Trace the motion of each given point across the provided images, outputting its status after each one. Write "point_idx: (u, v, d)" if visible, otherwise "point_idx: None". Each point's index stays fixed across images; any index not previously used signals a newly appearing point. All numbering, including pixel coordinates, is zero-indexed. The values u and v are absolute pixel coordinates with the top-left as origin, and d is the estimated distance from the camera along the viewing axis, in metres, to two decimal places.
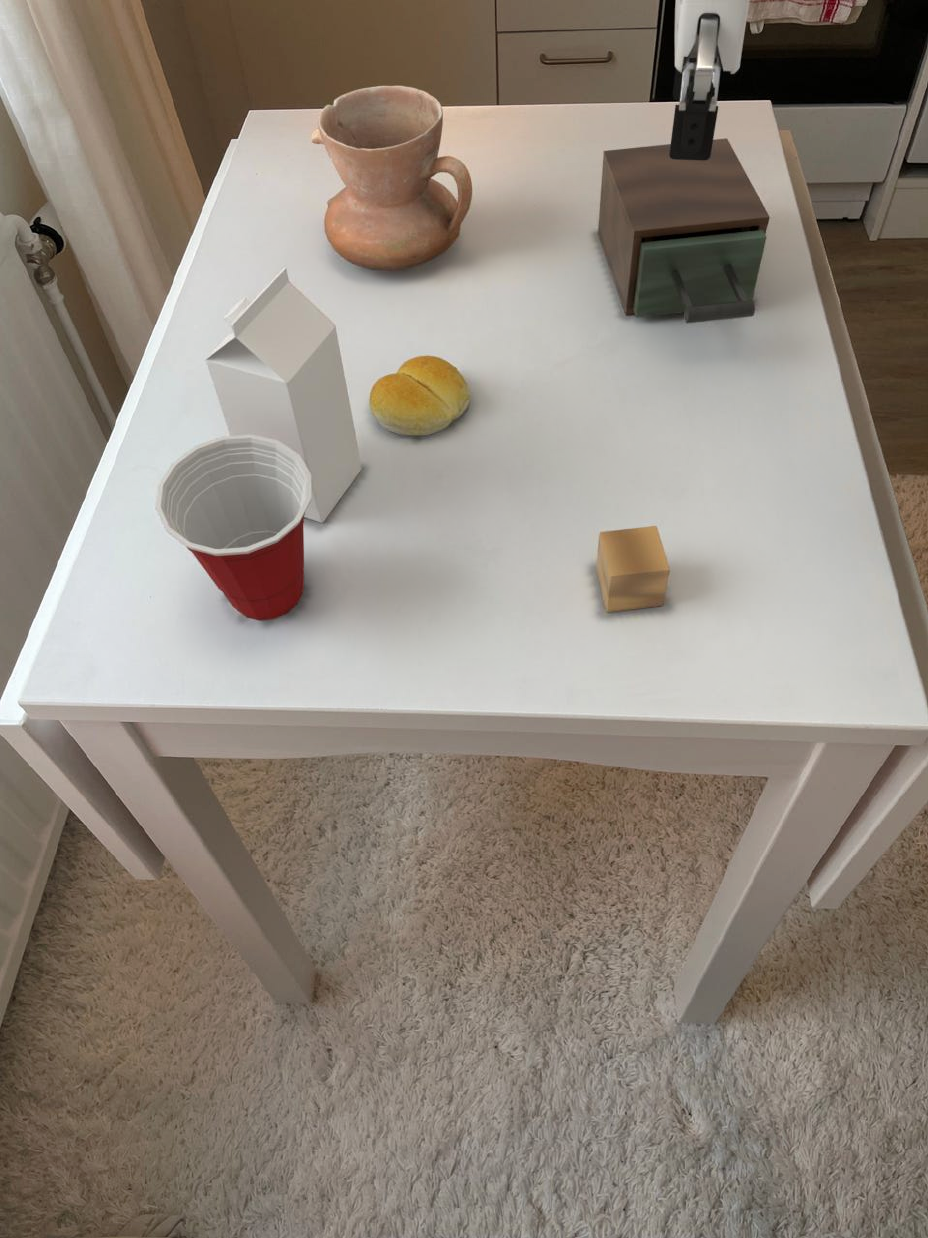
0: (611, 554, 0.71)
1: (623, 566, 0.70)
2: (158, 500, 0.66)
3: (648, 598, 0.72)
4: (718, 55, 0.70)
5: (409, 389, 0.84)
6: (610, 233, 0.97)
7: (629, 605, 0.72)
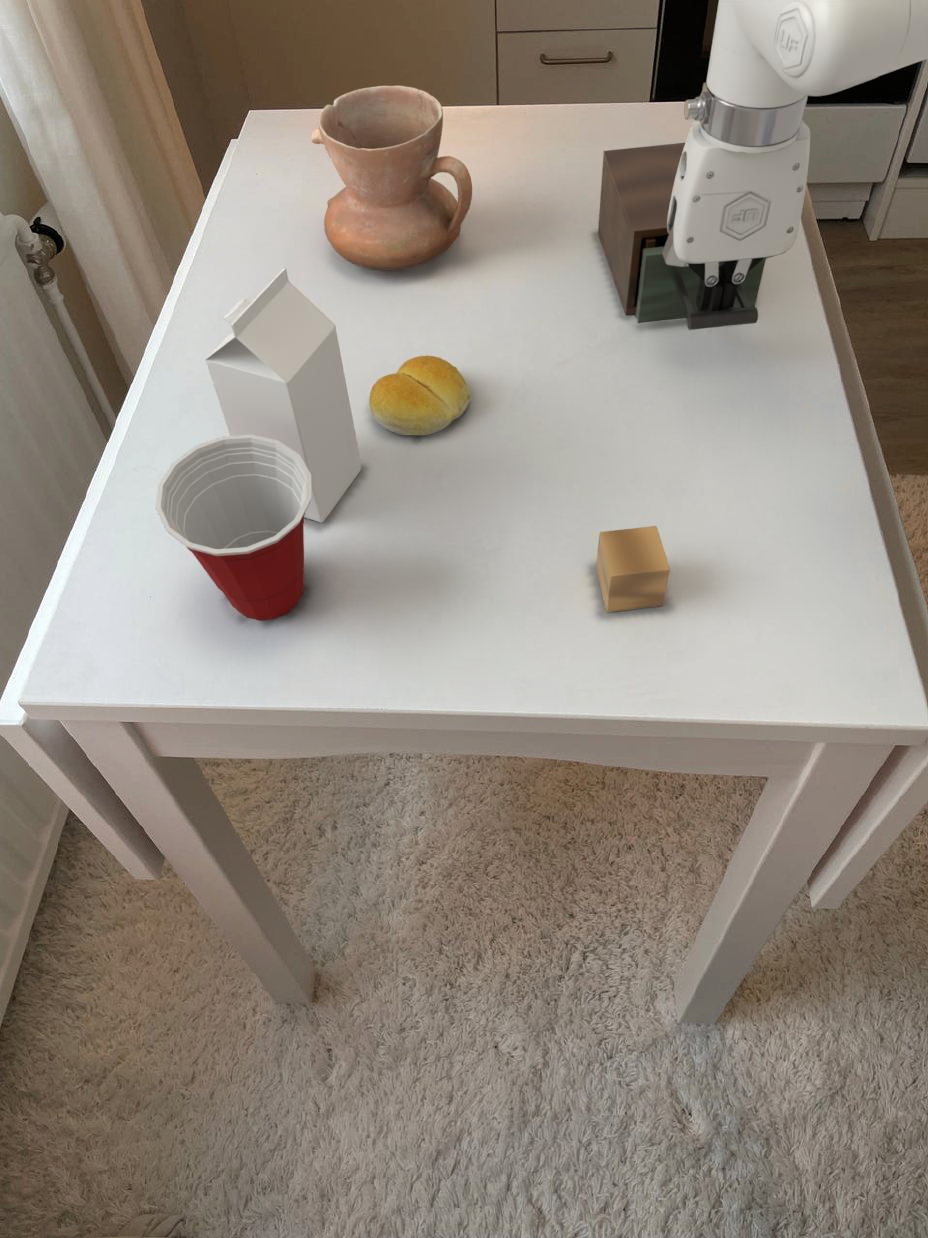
0: (611, 554, 0.71)
1: (623, 566, 0.70)
2: (158, 500, 0.66)
3: (648, 598, 0.72)
4: None
5: (409, 389, 0.84)
6: (610, 233, 0.97)
7: (629, 605, 0.72)
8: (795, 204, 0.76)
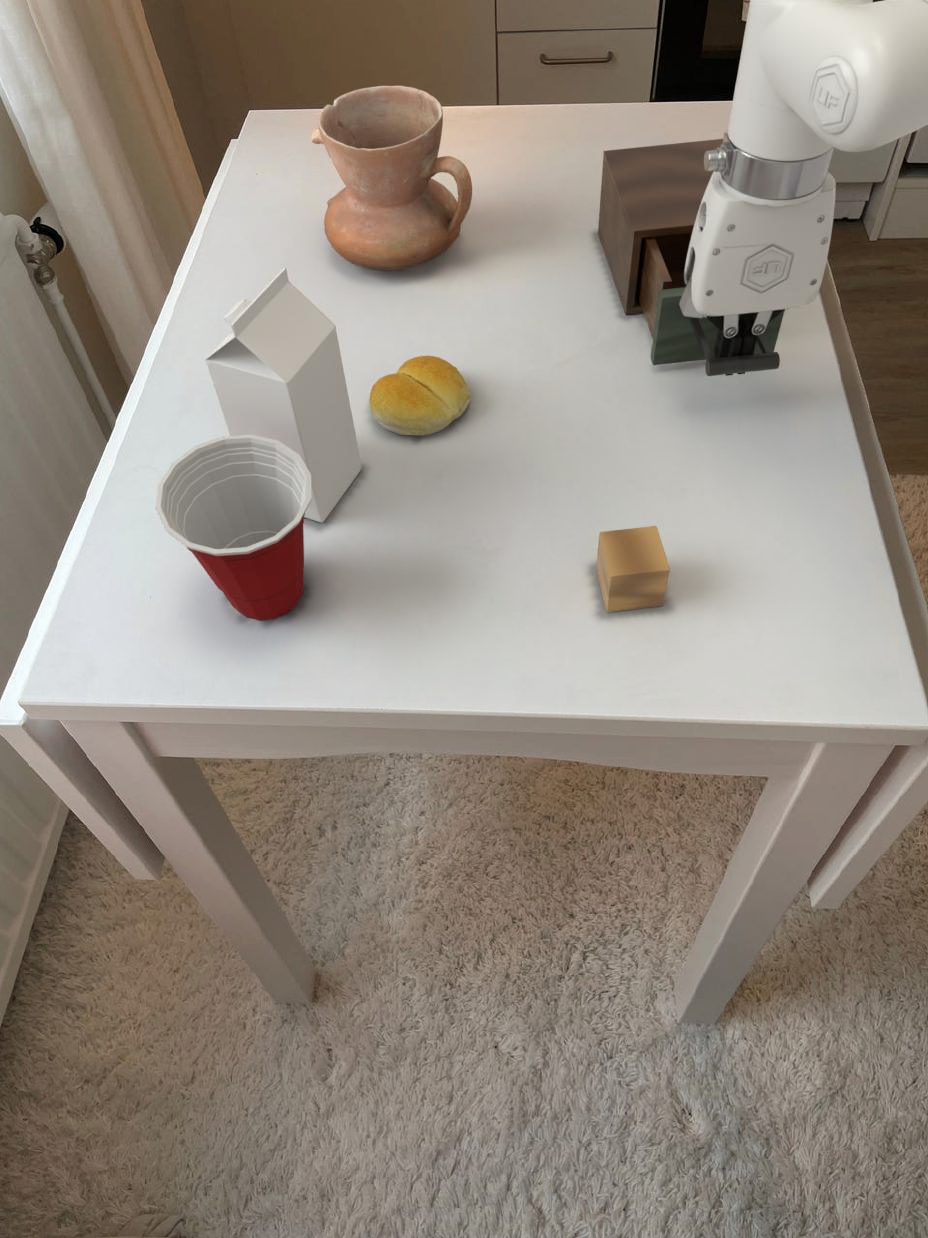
0: (611, 554, 0.71)
1: (623, 566, 0.70)
2: (158, 500, 0.66)
3: (648, 598, 0.72)
4: None
5: (409, 389, 0.84)
6: (610, 233, 0.97)
7: (629, 605, 0.72)
8: (819, 256, 0.73)
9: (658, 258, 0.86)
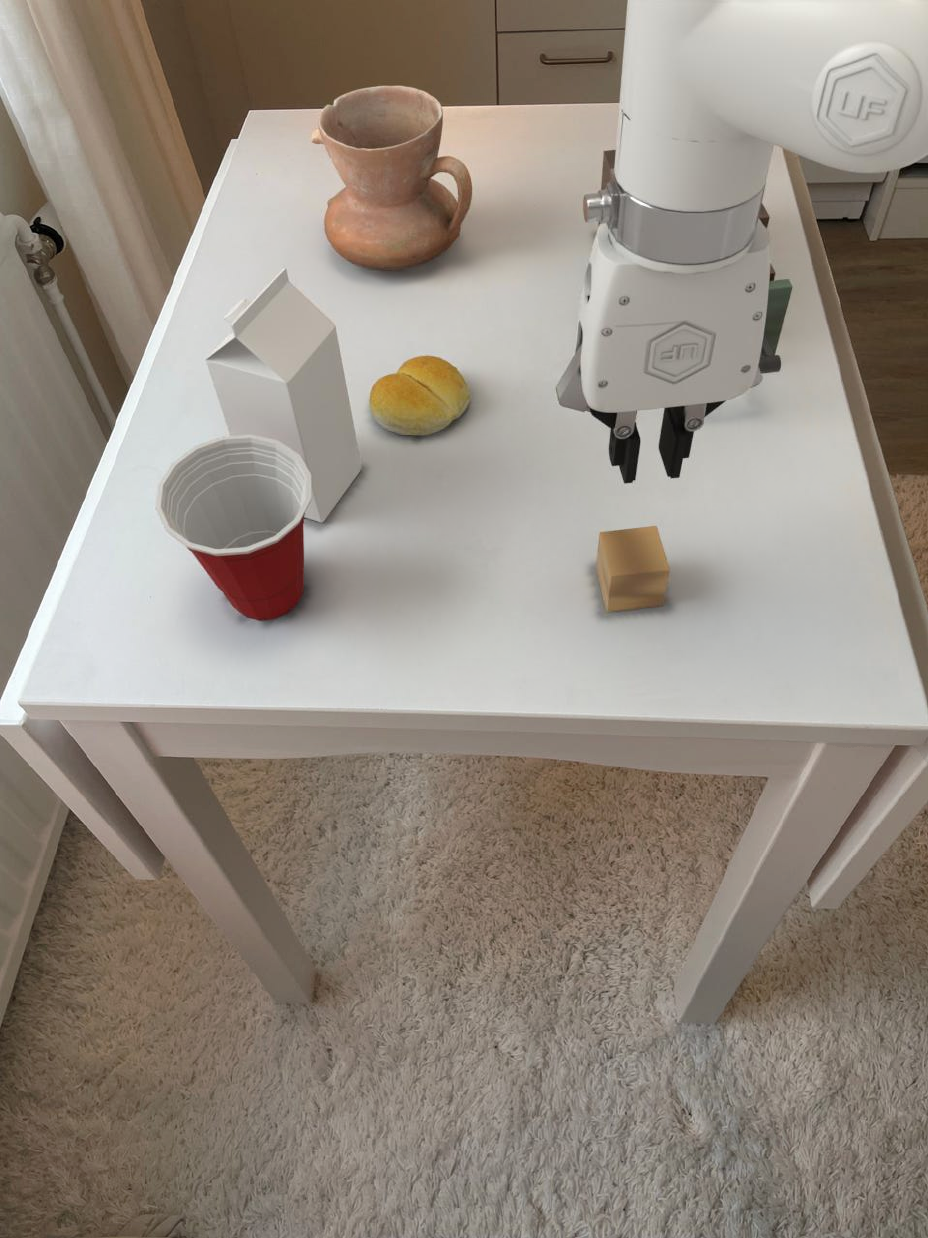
0: (611, 554, 0.71)
1: (623, 566, 0.70)
2: (158, 500, 0.66)
3: (648, 598, 0.72)
4: None
5: (409, 389, 0.84)
6: None
7: (629, 605, 0.72)
8: (752, 336, 0.53)
9: None
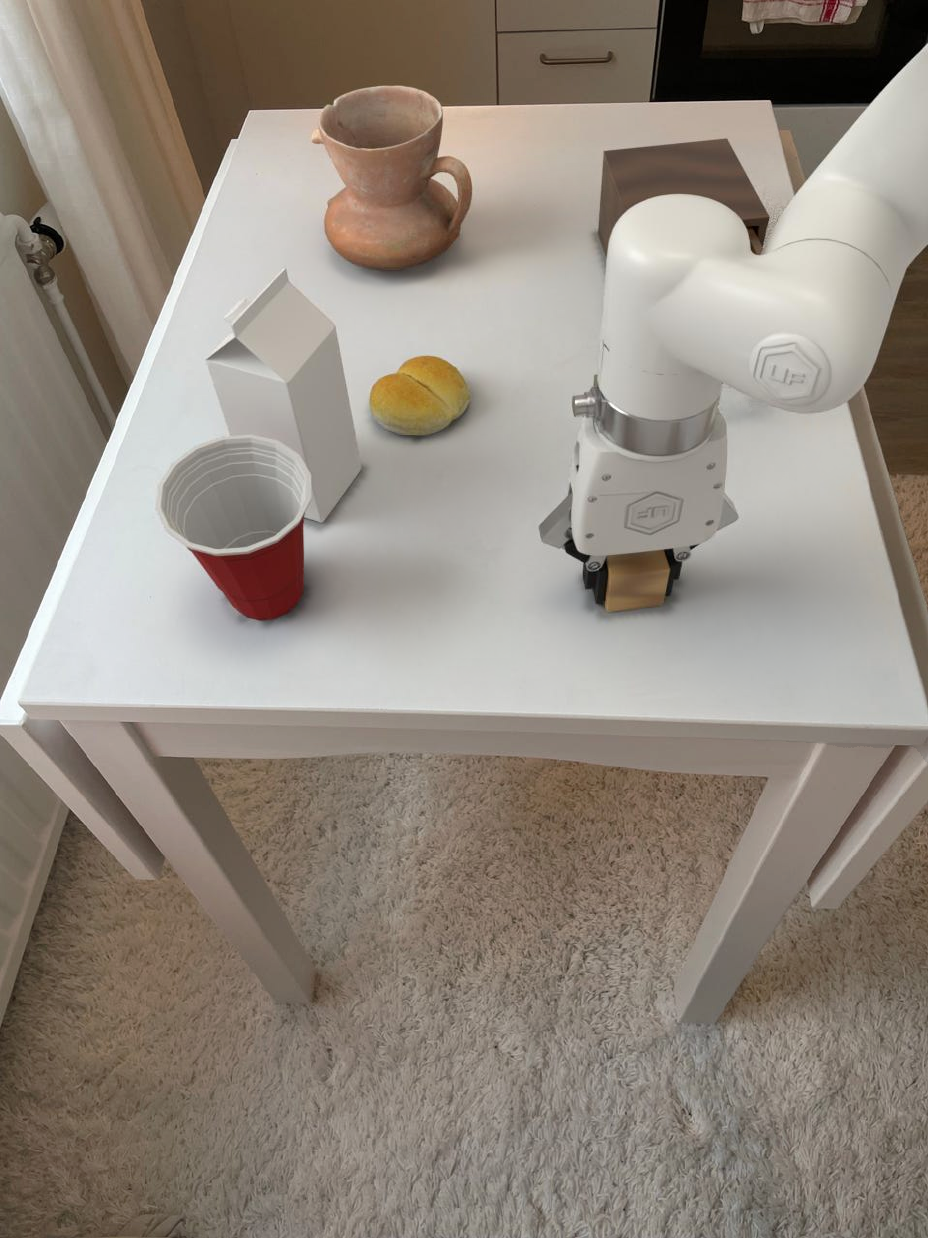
0: None
1: (623, 566, 0.70)
2: (158, 500, 0.66)
3: (648, 598, 0.72)
4: None
5: (409, 389, 0.84)
6: (610, 233, 0.97)
7: (629, 605, 0.72)
8: (713, 499, 0.63)
9: None
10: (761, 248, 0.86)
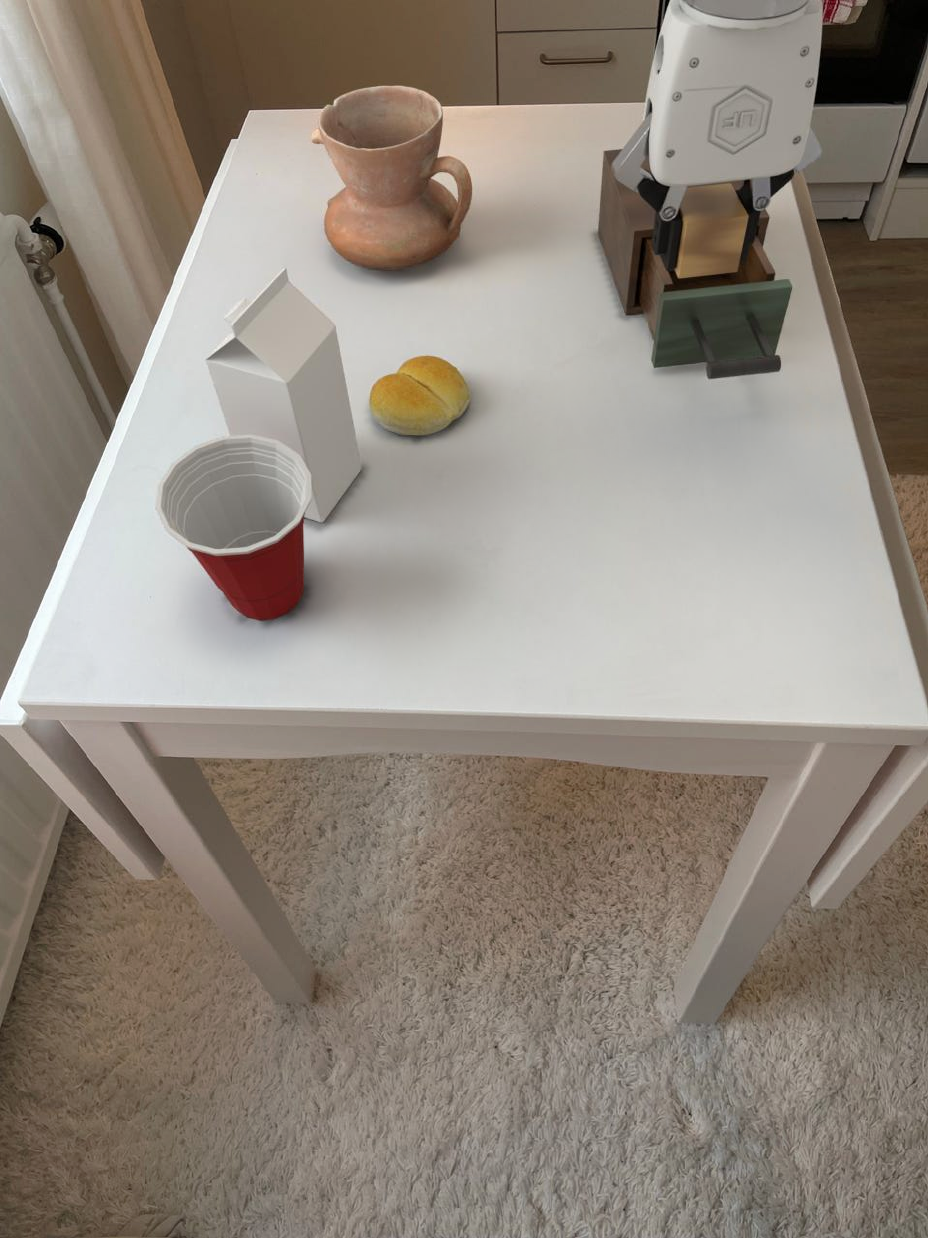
0: (685, 205, 0.67)
1: (698, 214, 0.66)
2: (158, 500, 0.66)
3: (722, 259, 0.68)
4: None
5: (409, 389, 0.84)
6: (610, 233, 0.97)
7: (702, 269, 0.69)
8: (803, 104, 0.60)
9: (659, 260, 0.86)
10: (761, 248, 0.86)
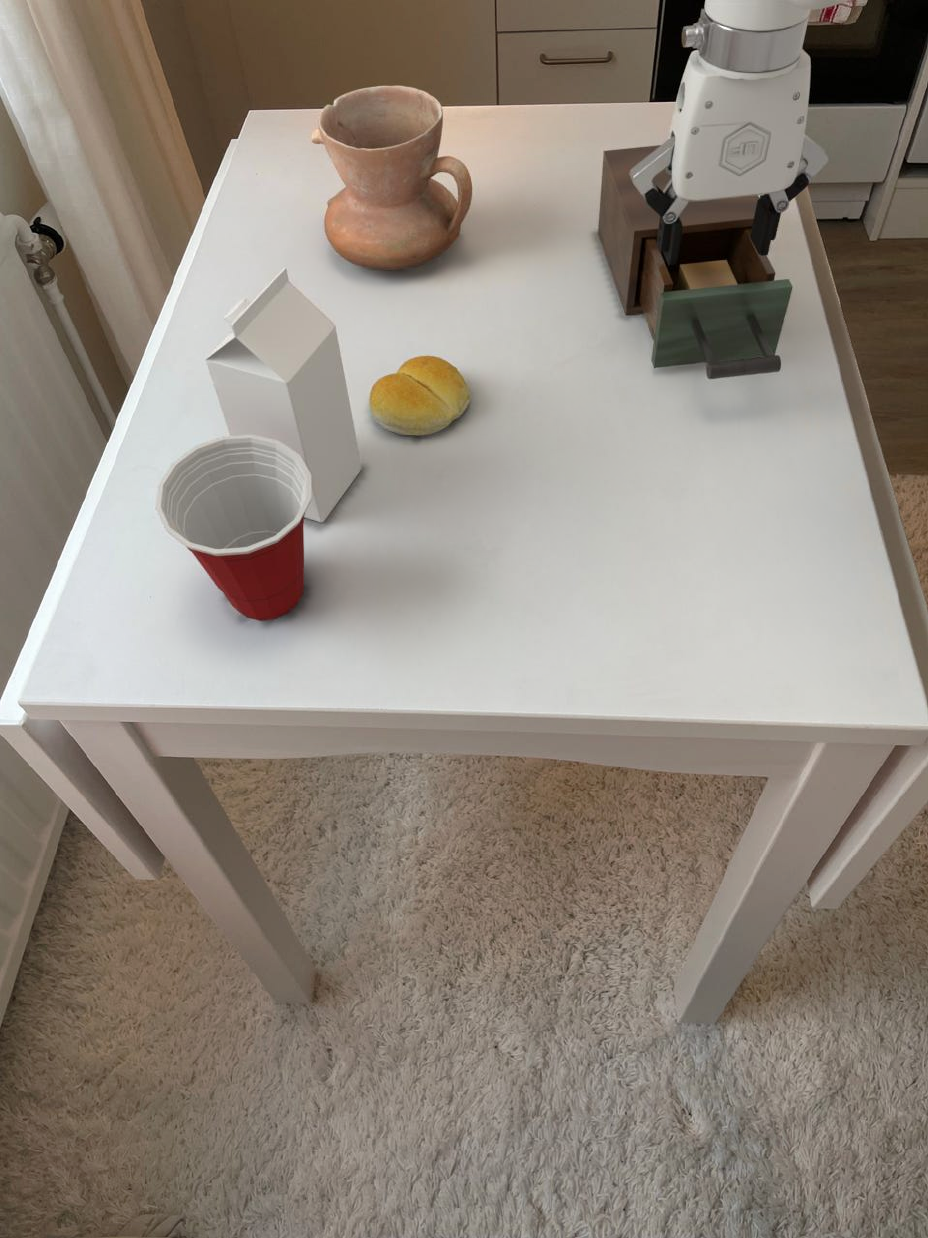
0: (690, 278, 0.87)
1: (700, 285, 0.86)
2: (158, 500, 0.66)
3: None
4: None
5: (409, 389, 0.84)
6: (610, 233, 0.97)
7: None
8: (796, 137, 0.75)
9: (659, 260, 0.86)
10: None
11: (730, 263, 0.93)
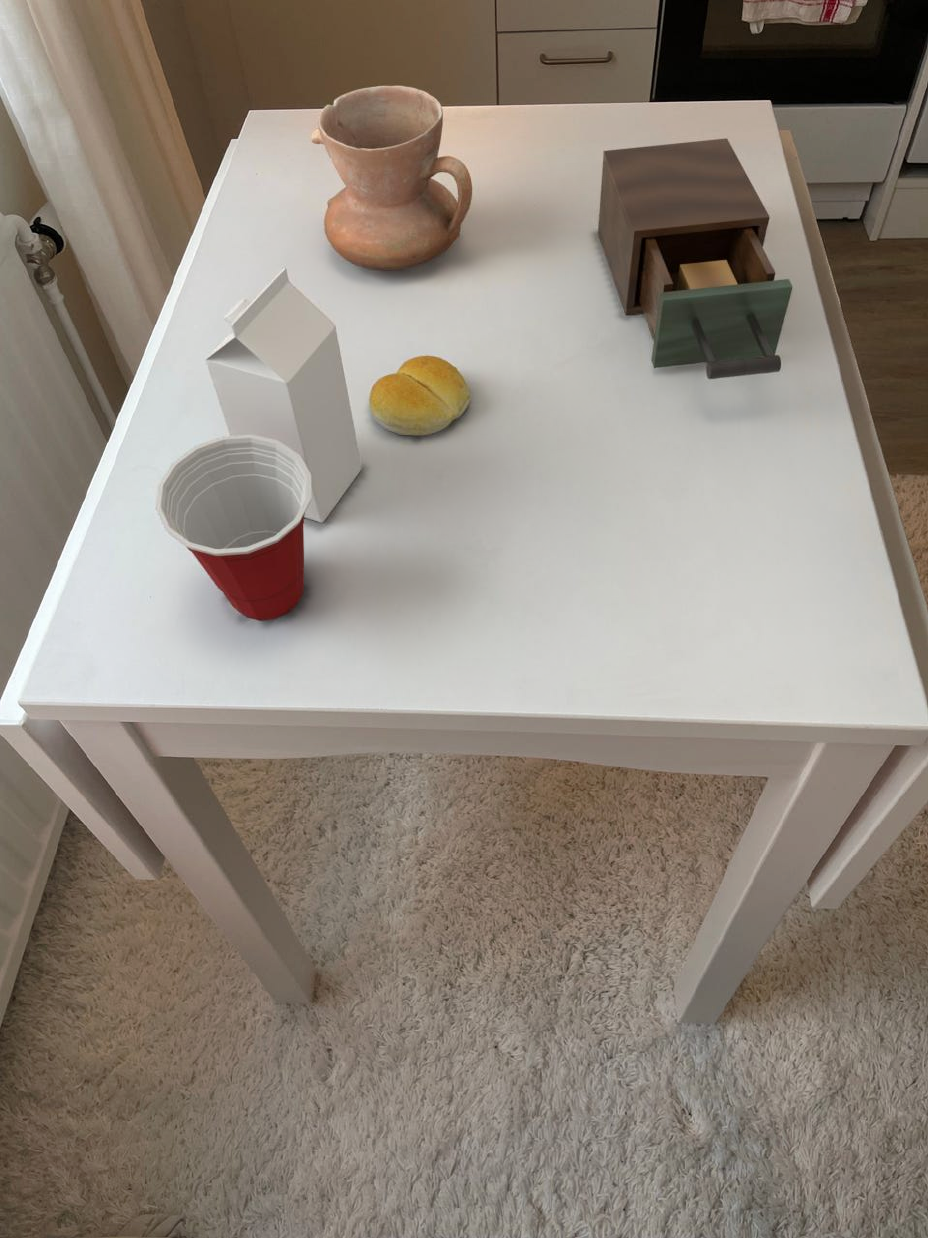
0: (690, 278, 0.87)
1: (700, 285, 0.86)
2: (158, 500, 0.66)
3: None
4: None
5: (409, 389, 0.84)
6: (610, 233, 0.97)
7: None
8: None
9: (659, 260, 0.86)
10: (761, 248, 0.86)
11: (730, 263, 0.93)
